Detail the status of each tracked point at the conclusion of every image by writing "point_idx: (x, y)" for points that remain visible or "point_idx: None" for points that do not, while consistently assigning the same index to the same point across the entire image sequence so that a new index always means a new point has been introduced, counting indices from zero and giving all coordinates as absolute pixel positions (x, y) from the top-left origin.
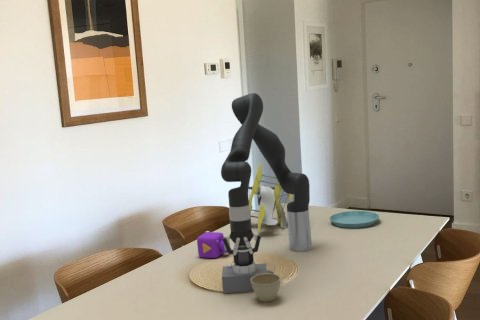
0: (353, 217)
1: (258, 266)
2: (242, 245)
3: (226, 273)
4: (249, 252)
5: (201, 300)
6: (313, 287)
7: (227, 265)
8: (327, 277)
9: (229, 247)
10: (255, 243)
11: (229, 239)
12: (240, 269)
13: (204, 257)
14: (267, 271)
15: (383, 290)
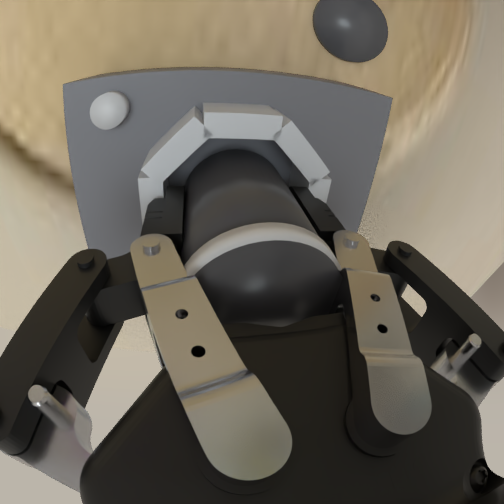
0: None
1: (335, 141)
2: (276, 264)
3: (107, 223)
4: (323, 229)
5: (51, 267)
6: (440, 224)
7: (93, 122)
8: (494, 165)
9: (99, 364)
10: (427, 304)
11: (91, 452)
12: None
13: None
14: (362, 2)
15: (500, 264)
